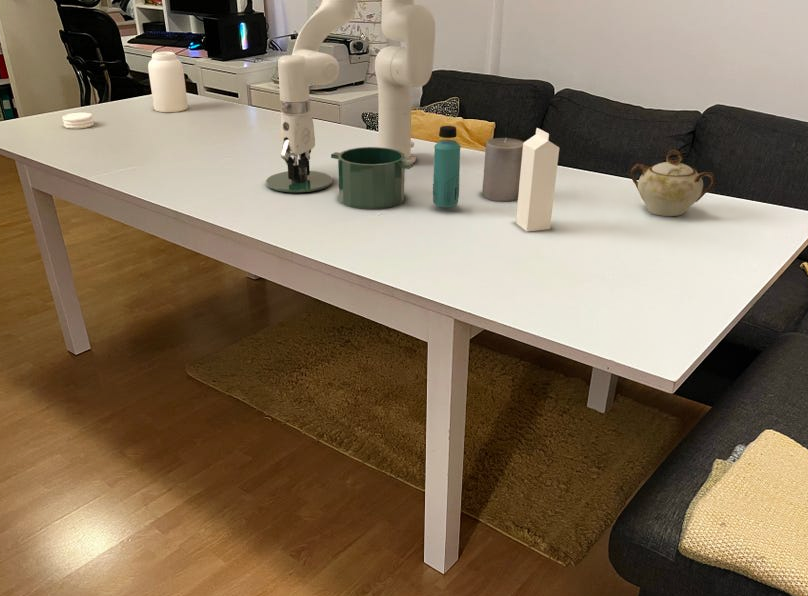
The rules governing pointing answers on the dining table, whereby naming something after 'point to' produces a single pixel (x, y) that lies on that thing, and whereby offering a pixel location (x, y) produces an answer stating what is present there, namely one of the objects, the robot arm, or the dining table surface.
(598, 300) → the dining table surface
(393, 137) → the robot arm
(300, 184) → the lid
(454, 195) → the beverage bottle
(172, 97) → the white jar
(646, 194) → the sugar bowl
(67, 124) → the white flat round stack
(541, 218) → the milk
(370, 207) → the pot
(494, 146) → the pillar candle
